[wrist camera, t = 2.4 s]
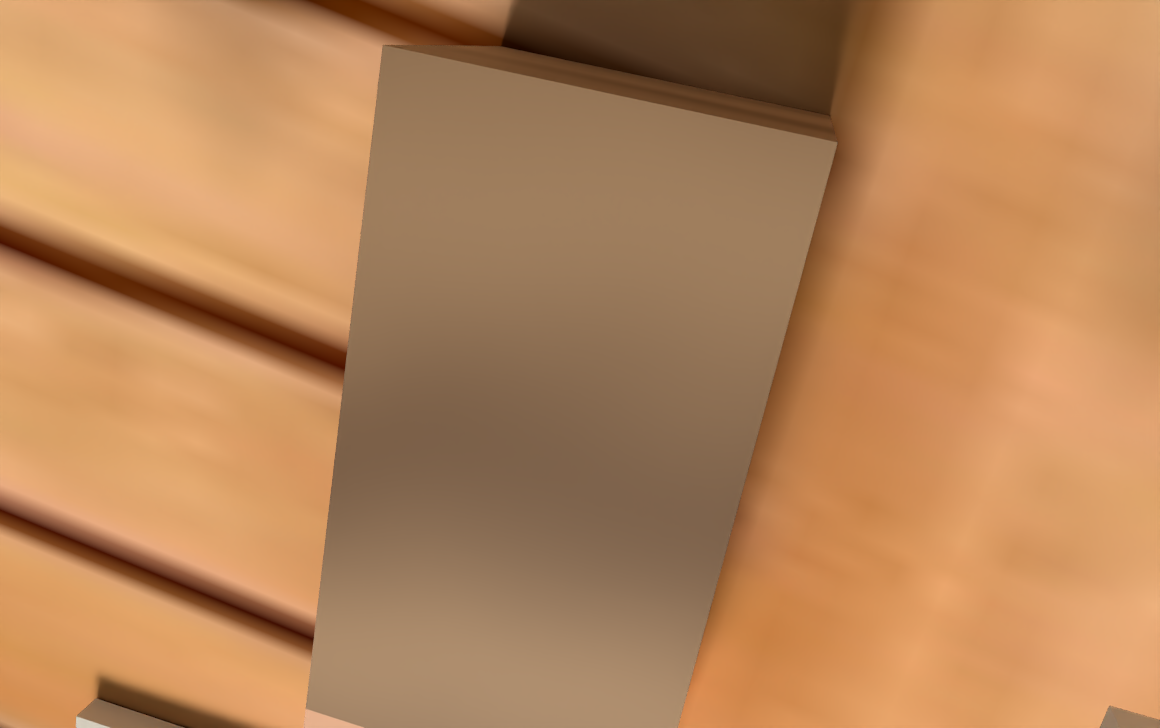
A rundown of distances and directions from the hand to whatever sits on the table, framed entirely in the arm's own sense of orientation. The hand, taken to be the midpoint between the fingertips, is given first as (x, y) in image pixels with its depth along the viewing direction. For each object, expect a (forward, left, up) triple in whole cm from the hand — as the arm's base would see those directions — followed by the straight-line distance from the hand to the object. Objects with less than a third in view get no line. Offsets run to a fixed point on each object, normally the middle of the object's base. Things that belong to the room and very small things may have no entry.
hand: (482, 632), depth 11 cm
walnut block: (-1, 0, -6) cm, 6 cm away
